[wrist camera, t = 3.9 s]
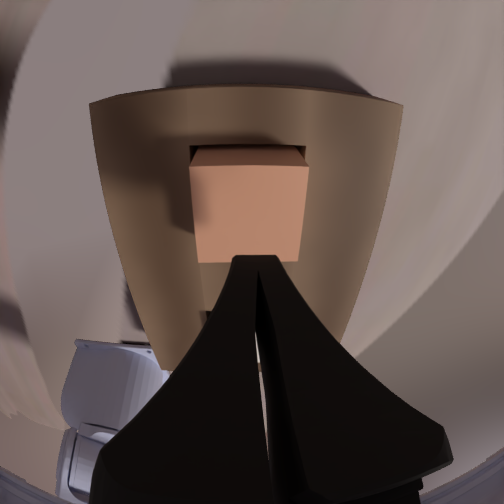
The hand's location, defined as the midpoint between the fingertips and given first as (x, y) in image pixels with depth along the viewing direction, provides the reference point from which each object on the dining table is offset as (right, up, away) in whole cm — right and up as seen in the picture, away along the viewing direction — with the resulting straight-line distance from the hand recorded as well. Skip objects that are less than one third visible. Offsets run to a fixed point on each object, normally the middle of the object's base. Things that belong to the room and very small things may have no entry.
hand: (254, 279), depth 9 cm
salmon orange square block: (0, +4, +5) cm, 6 cm away
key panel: (-1, +1, +10) cm, 10 cm away
